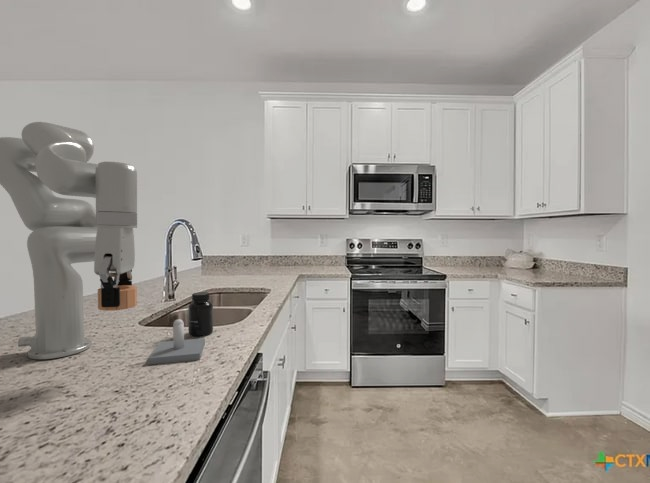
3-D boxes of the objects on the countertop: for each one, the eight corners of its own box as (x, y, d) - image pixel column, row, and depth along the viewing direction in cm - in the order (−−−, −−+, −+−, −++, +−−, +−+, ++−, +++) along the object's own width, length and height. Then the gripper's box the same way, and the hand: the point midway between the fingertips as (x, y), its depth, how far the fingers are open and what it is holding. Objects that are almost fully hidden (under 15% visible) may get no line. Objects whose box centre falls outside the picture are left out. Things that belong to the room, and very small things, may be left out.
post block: (148, 364, 73) (147, 327, 73) (160, 347, 84) (159, 315, 84) (199, 359, 76) (199, 323, 76) (204, 343, 87) (204, 312, 87)
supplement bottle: (187, 338, 91) (186, 296, 91) (190, 331, 98) (189, 291, 97) (212, 336, 93) (211, 294, 93) (214, 329, 100) (213, 290, 99)
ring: (92, 311, 66) (92, 292, 66) (106, 303, 73) (106, 285, 73) (130, 309, 68) (130, 291, 68) (140, 301, 75) (140, 284, 75)
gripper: (112, 220, 77) (113, 294, 78) (77, 220, 60) (78, 314, 61) (147, 221, 79) (147, 293, 80) (122, 221, 62) (122, 312, 63)
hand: (117, 301), depth 70 cm, fingers closed on ring, 7 cm apart
